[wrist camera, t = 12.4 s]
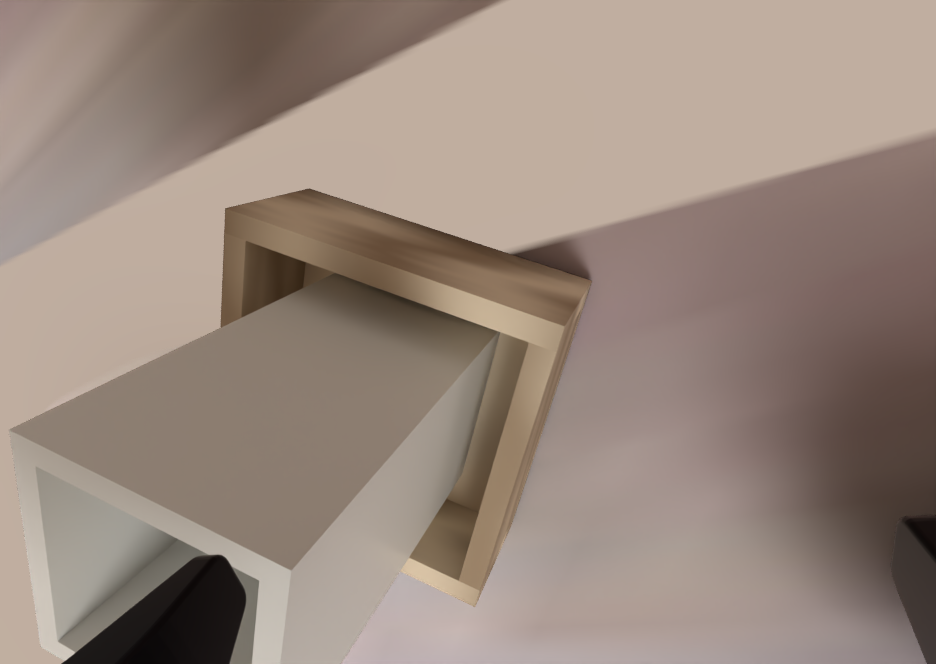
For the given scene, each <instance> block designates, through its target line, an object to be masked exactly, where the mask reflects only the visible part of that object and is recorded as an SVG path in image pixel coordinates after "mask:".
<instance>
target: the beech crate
mask: <svg viewBox="0 0 936 664" xmlns="http://www.w3.org/2000/svg"><path fill="white" fill-rule="evenodd" d="M334 273H337V274H340V275H343V276H345V277H348V278H351V279H354V280H357V281H359V282H362V283H365V284H368V285H370V286H373V287H376V288H379V289H382V290H384V291H387V292H390V293H393V294H395V295H398V296H401V297H404V298H407V299H409V300H412V301H415V302H418V303H420V304H423V305H426V306H429V307H432V308H434V309H437V310H440V311H443V312H445V313H448V314H451V315H454V316H457V317H459V318H462V319H465V320H468V321H471V322H473V323H476V324H479V325H482V326H484V327H487V328H490V329H493V330H496V331H498V332H500V336H499V339H498V343H497V347H496V351H495V354H494V358H493V362H492V366H491V369H490V373H489V377H488V380H487V384H486V388H485V392H484V395H483V399H482V403H481V407H480V410H479V414H478V418H477V422H476V425H475V429H474V433H473V436H472V440H471V444H470V448H469V451H468V455H467V459H466V463H465V466H464V470H463V473H462V475H461V476H460V478H459V480H458V481H457V483H456V484H455V486H454V487H453V489H452V491H451V492H450V494H449V495H448V497H447V498H446V500H445V502H444V503H443V505H442V506H441V508H440V509H439V511H438V513H437V514H436V516H435V517H434V519H433V520H432V522H431V524H430V525H429V527H428V528H427V530H426V531H425V533H424V535H423V536H422V538H421V539H420V541H419V542H418V544H417V546H416V547H415V549H414V550H413V552H412V553H411V555H410V557H409V558H408V560H407V561H406V563H405V564H404V566H403V568H402V569H401V572H403V573H405V574H407V575H409V576H411V577H413V578H415V579H417V580H419V581H422V582H424V583H426V584H428V585H430V586H432V587H434V588H436V589H438V590H440V591H442V592H445V593H447V594H449V595H451V596H453V597H455V598H457V599H459V600H461V601H463V602H466V603H468V604H470V605H472V606H474V607H475V606H476V603H477V601H478V599H479V597H480V594H481V592H482V590H483V588H484V586H485V583H486V581H487V579H488V577H489V574H490V572H491V570H492V568H493V565H494V563H495V561H496V559H497V556H498V554H499V552H500V550H501V547H502V545H503V543H504V541H505V538H506V536H507V534H508V532H509V529H510V527H511V525H512V522H513V519H514V516H515V513H516V510H517V507H518V504H519V501H520V498H521V495H522V491H523V488H524V485H525V482H526V479H527V476H528V473H529V470H530V467H531V464H532V461H533V458H534V455H535V452H536V449H537V446H538V443H539V440H540V437H541V434H542V431H543V428H544V425H545V422H546V419H547V416H548V413H549V410H550V407H551V404H552V401H553V398H554V395H555V392H556V389H557V386H558V383H559V380H560V377H561V373H562V370H563V367H564V364H565V361H566V358H567V355H568V352H569V349H570V346H571V343H572V340H573V337H574V334H575V331H576V328H577V325H578V322H579V319H580V316H581V313H582V310H583V307H584V304H585V301H586V298H587V295H588V292H589V289H590V286H591V283H592V281H591V280H588V279H585V278H582V277H579V276H575V275H572V274H569V273H566V272H563V271H560V270H557V269H554V268H551V267H548V266H545V265H542V264H539V263H536V262H533V261H530V260H526V259H523V258H520V257H517V256H514V255H511V254H508V253H505V252H502V251H499V250H496V249H493V248H490V247H487V246H483V245H481V244H477V243H474V242H471V241H468V240H465V239H462V238H459V237H456V236H453V235H450V234H447V233H444V232H441V231H438V230H435V229H431V228H428V227H425V226H422V225H419V224H416V223H413V222H410V221H407V220H404V219H401V218H398V217H395V216H391V215H389V214H386V213H382V212H379V211H376V210H373V209H370V208H367V207H364V206H361V205H358V204H355V203H352V202H349V201H346V200H343V199H339V198H337V197H333V196H330V195H327V194H324V193H321V192H318V191H315V190H312V189H305V190H302V191H297V192H293V193H288V194H285V195H280V196H276V197H272V198H267V199H263V200H259V201H254V202H250V203H246V204H242V205H238V206H233V207H229V208H226V209H225V230H224V258H223V281H222V306H221V327H223V326H226V325H228V324H230V323H232V322H234V321H236V320H238V319H240V318H242V317H244V316H246V315H248V314H250V313H253V312H255V311H257V310H259V309H261V308H263V307H265V306H267V305H269V304H271V303H273V302H275V301H277V300H280V299H282V298H284V297H286V296H288V295H290V294H292V293H294V292H296V291H298V290H300V289H302V288H304V287H307V286H309V285H311V284H313V283H315V282H317V281H319V280H321V279H323V278H325V277H327V276H329V275H331V274H334Z"/></svg>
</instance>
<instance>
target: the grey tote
mask: <svg viewBox="0 0 936 664" xmlns="http://www.w3.org/2000/svg"><path fill="white" fill-rule="evenodd" d="M499 336H500V332H498V331H496V330H493V329H490V328H487V327H484V326H482V325H479V324H476V323H473V322H471V321H468V320H465V319H462V318H459V317H457V316H454V315H451V314H448V313H445V312H443V311H440V310H437V309H434V308H432V307H429V306H426V305H423V304H420V303H418V302H415V301H412V300H409V299H407V298H404V297H401V296H398V295H395V294H393V293H390V292H387V291H384V290H382V289H379V288H376V287H373V286H370V285H368V284H365V283H362V282H359V281H357V280H354V279H351V278H348V277H345V276H343V275H340V274H337V273H334V274H331V275H329V276H327V277H325V278H323V279H321V280H319V281H317V282H315V283H313V284H311V285H309V286H307V287H304V288H302V289H300V290H298V291H296V292H294V293H292V294H290V295H288V296H286V297H284V298H282V299H280V300H277V301H275V302H273V303H271V304H269V305H267V306H265V307H263V308H261V309H259V310H257V311H255V312H253V313H250V314H248V315H246V316H244V317H242V318H240V319H238V320H236V321H234V322H232V323H230V324H228V325H226V326H223V327H221V328H219V329H217V330H215V331H213V332H211V333H209V334H207V335H205V336H203V337H201V338H198V339H196V340H194V341H192V342H190V343H188V344H186V345H184V346H182V347H180V348H178V349H176V350H174V351H171V352H169V353H167V354H165V355H163V356H161V357H159V358H157V359H155V360H153V361H151V362H149V363H147V364H144V365H142V366H140V367H138V368H136V369H134V370H132V371H130V372H128V373H126V374H124V375H122V376H120V377H117V378H115V379H113V380H111V381H109V382H107V383H105V384H103V385H101V386H99V387H97V388H95V389H93V390H90V391H88V392H86V393H84V394H82V395H80V396H78V397H76V398H74V399H72V400H70V401H68V402H66V403H63V404H61V405H59V406H57V407H55V408H53V409H51V410H49V411H47V412H45V413H43V414H41V415H39V416H37V417H34V418H32V419H30V420H28V421H26V422H24V423H22V424H20V425H18V426H16V427H14V428H12V429H10V430H9V433H10V441H11V448H12V454H13V461H14V468H15V475H16V482H17V489H18V495H19V502H20V509H21V516H22V522H23V529H24V537H25V543H26V550H27V557H28V564H29V570H30V578H31V584H32V591H33V598H34V605H35V612H36V619H37V626H38V633H39V639H40V646H41V647H42V648H44V649H45V650H47V651H49V652H50V653H52V654H53V655H55V656H57V657H58V658H60V659H62V660H63V661H66V660H67V659H68V658H69V657H71V656H72V655H73V654H74V653H76V652H77V651H78V650H79V649H81V648H82V647H83V646H84V645H85V644H87V643H88V642H89V641H90V640H92V639H93V638H94V637H95V636H97V635H98V634H99V633H100V632H102V631H103V630H104V629H105V628H107V627H108V626H109V625H110V624H112V623H113V622H114V621H115V620H117V619H118V618H119V617H120V616H122V615H123V614H124V613H125V612H127V611H128V610H129V609H130V608H132V607H133V606H134V605H135V604H137V603H138V602H139V601H140V600H142V599H143V598H144V597H145V596H146V595H148V594H149V593H150V592H151V591H153V590H154V589H155V588H156V587H158V586H159V585H160V584H161V583H163V582H164V581H165V580H166V579H168V578H169V577H170V576H171V575H173V574H174V573H175V572H176V571H178V570H179V569H180V568H181V567H183V566H184V565H185V564H186V563H188V562H189V561H190V560H191V559H193V558H195V557H197V556H201V555H217V554H219V555H222V556H224V557H226V558H227V560H228V561H229V563H230V565H231V566H232V568H233V570H234V571H235V573H236V575H237V576H238V578H239V580H240V582H241V583H242V585H243V587H244V589H245V592H246V607H245V611H244V614H243V618H242V622H241V625H240V629H239V632H238V636H237V639H236V643H235V647H234V650H233V654H232V657H231V661H230V664H341V663H342V662H343V660H344V659H345V657H346V656H347V654H348V652H349V651H350V649H351V648H352V646H353V645H354V643H355V641H356V640H357V638H358V637H359V635H360V634H361V632H362V630H363V629H364V627H365V626H366V624H367V623H368V621H369V619H370V618H371V616H372V615H373V613H374V612H375V610H376V608H377V607H378V605H379V604H380V602H381V601H382V599H383V597H384V596H385V594H386V593H387V591H388V590H389V588H390V586H391V585H392V583H393V582H394V580H395V579H396V577H397V575H398V574H399V572H400V571H401V569H402V568H403V566H404V564H405V563H406V561H407V560H408V558H409V557H410V555H411V553H412V552H413V550H414V549H415V547H416V546H417V544H418V542H419V541H420V539H421V538H422V536H423V535H424V533H425V531H426V530H427V528H428V527H429V525H430V524H431V522H432V520H433V519H434V517H435V516H436V514H437V513H438V511H439V509H440V508H441V506H442V505H443V503H444V502H445V500H446V498H447V497H448V495H449V494H450V492H451V491H452V489H453V487H454V486H455V484H456V483H457V481H458V480H459V478H460V476H461V475H462V473H463V470H464V466H465V463H466V459H467V455H468V451H469V448H470V444H471V440H472V436H473V433H474V429H475V425H476V422H477V418H478V414H479V410H480V407H481V403H482V399H483V395H484V392H485V388H486V384H487V380H488V377H489V373H490V369H491V366H492V362H493V358H494V354H495V351H496V347H497V343H498V339H499Z"/></svg>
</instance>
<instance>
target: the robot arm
mask: <svg viewBox="0 0 936 664" xmlns="http://www.w3.org/2000/svg"><path fill="white" fill-rule="evenodd" d="M891 570H892V576H893V580H894V583H895V586H896V589H897V591H898V594H899V596H900V599H901V601H902V604H903V606H904V608H905V611H906V613H907V616H908V618H909V621H910V623H911V626H912V628H913V631H914V633H915V636H916V638H917V640H918V643H919V645H920V648H921V650H922V653H923V655H924V658H925V660H926V663H927V664H936V515H922V516H905V517H902V518H901V519H899V521H898V522H897V526H896V532H895V539H894V547H893V554H892V561H891ZM245 607H246V592H245V589H244V587H243V585H242V583H241V582H240V580H239V578H238V576H237V575H236V573H235V571H234V570H233V568H232V566H231V565H230V563H229V561H228V560H227V558H226V557H224V556H222V555H219V554H217V555H201V556H197V557H195V558H193V559H191V560H190V561H189V562H188V563H186V564H185V565H184V566H183V567H181V568H180V569H179V570H178V571H176V572H175V573H174V574H173V575H171V576H170V577H169V578H168V579H166V580H165V581H164V582H163V583H161V584H160V585H159V586H158V587H156V588H155V589H154V590H153V591H151V592H150V593H149V594H148V595H146V596H145V597H144V598H143V599H142V600H140V601H139V602H138V603H137V604H135V605H134V606H133V607H132V608H130V609H129V610H128V611H127V612H125V613H124V614H123V615H122V616H120V617H119V618H118V619H117V620H115V621H114V622H113V623H112V624H110V625H109V626H108V627H107V628H105V629H104V630H103V631H102V632H100V633H99V634H98V635H97V636H95V637H94V638H93V639H92V640H90V641H89V642H88V643H87V644H85V645H84V646H83V647H82V648H81V649H79V650H78V651H77V652H76V653H74V654H73V655H72V656H71V657H69V658H68V659H67V660H66V661H64V662H63V663H62V664H230V661H231V657H232V654H233V650H234V647H235V643H236V639H237V636H238V632H239V629H240V625H241V622H242V618H243V614H244V611H245Z"/></svg>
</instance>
